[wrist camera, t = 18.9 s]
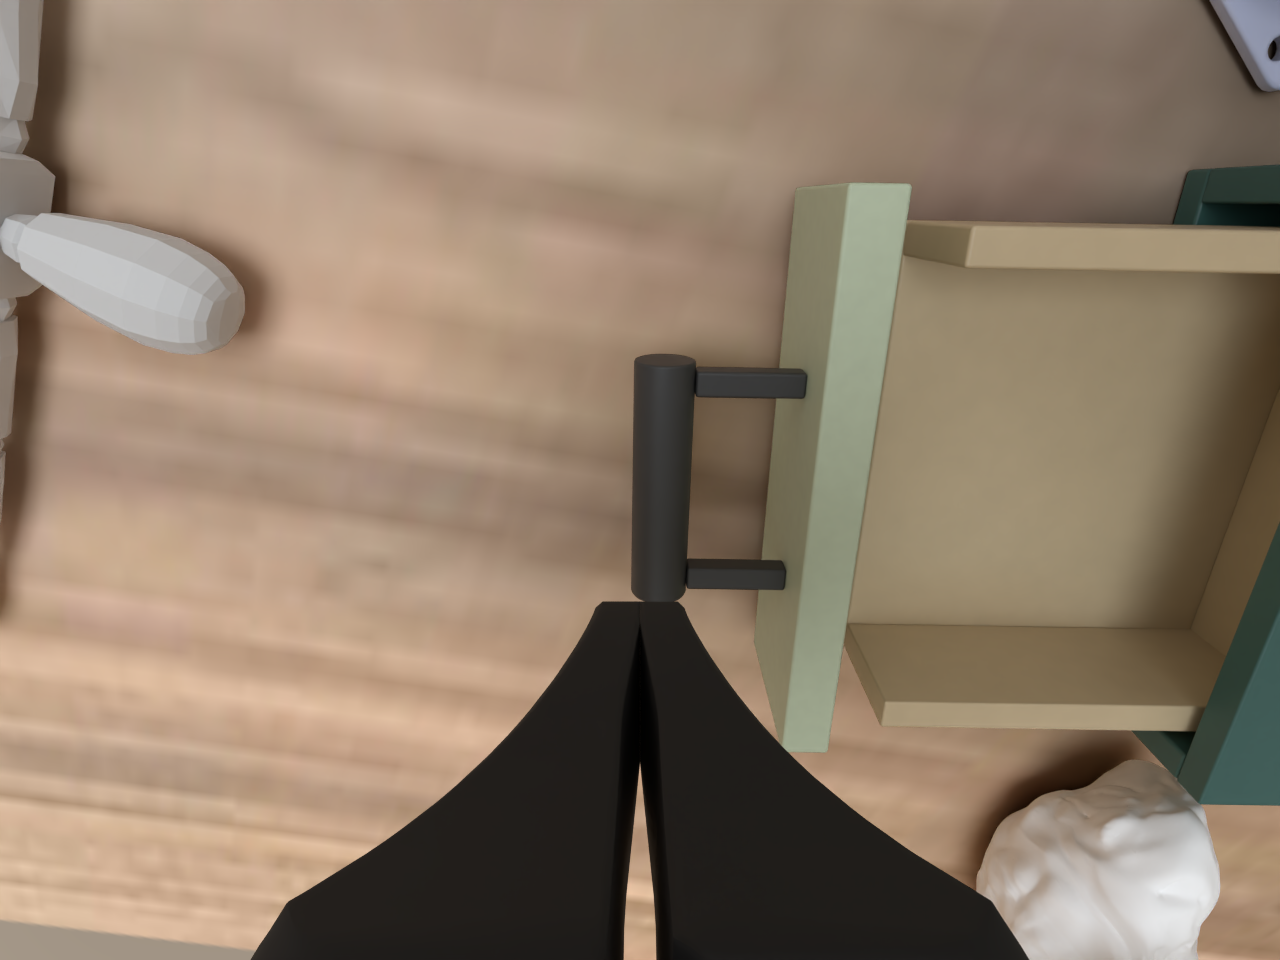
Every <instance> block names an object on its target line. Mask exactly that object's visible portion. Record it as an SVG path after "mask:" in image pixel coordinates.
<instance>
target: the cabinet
mask: <svg viewBox="0 0 1280 960" xmlns="http://www.w3.org/2000/svg"><path fill="white" fill-rule="evenodd" d="M1173 225H1224V226H1280V165H1263V166H1246V167H1229V168H1215V169H1197V170H1191V171H1189V172H1188V174H1187V178H1186V181H1185V185H1184V188H1183V192H1182V195H1181V199H1180V202H1179V206H1178V209H1177V213H1176V216H1175V220H1174V223H1173ZM1131 731H1132V732H1133V733H1134V734H1135V735H1136V736H1137V737H1138V738H1139V739H1140V740H1141V742H1142V743H1143V744H1144V745H1145V746H1146V747H1147V748H1148V749H1149V750H1150V751H1151V752H1152V753H1153V755H1154V756H1155V757H1156V758H1157V759H1158V760H1159V761H1160V762H1161V763H1162V764H1163V765H1164V766H1165V767H1166V769H1167V770H1168V771H1169V772H1170V773H1171V774H1172V775H1173V776H1174V777H1175V778H1177V781H1178V782H1179V783H1180V784H1181V786H1182V787H1183V788H1184V789H1185V790H1186V791H1187V792H1188V793H1189V794H1190V795H1191V796H1192V797H1193V799H1194V800H1195V801H1196V802H1197V803H1198V804H1210V805H1278V806H1280V522H1279V524H1278V527H1277V529H1276V532H1275V534H1274V537H1273V539H1272V542H1271V544H1270V547H1269V549H1268V552H1267V555H1266V557H1265V560H1264V562H1263V565H1262V567H1261V570H1260V572H1259V575H1258V577H1257V580H1256V582H1255V585H1254V587H1253V590H1252V592H1251V595H1250V597H1249V600H1248V602H1247V605H1246V607H1245V610H1244V612H1243V615H1242V617H1241V620H1240V622H1239V625H1238V627H1237V630H1236V632H1235V635H1234V638H1233V640H1232V643H1231V645H1230V648H1229V650H1228V653H1227V655H1226V658H1225V660H1224V663H1223V665H1222V668H1221V670H1220V673H1219V675H1218V678H1217V680H1216V683H1215V685H1214V688H1213V690H1212V693H1211V695H1210V698H1209V700H1208V703H1207V705H1206V708H1205V710H1204V713H1203V715H1202V718H1201V721H1200V723H1199V726H1198V728H1197V731H1139V730H1131Z"/></svg>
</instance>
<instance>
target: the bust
mask: <svg viewBox="0 0 1280 960" xmlns="http://www.w3.org/2000/svg"><path fill="white" fill-rule="evenodd" d="M976 892H978V893H980V894H981V895H983V896H984V897H986V898H988V899H989V900H991V901H992V902H993V904H994V905H995V907H996V909H997V910H998V912H999V913H1000V915H1001V916H1002V918H1003V919H1004V921H1005V922H1006V924H1007V925H1008V927H1009V929H1010V930H1011V932H1012V933H1013V935H1014V936H1015V938H1016V939H1017V941H1018V942H1019V944H1020V945H1021V947H1022V948H1023V950H1024V952H1025V953H1026V955H1027V957H1028V958H1029V960H1198V954H1197V951H1196V950H1197V938H1198V936H1199V931H1200V926H1201V924H1202V923H1203V921H1204V920H1205V919H1206V918H1207V917H1208V915H1209V914H1210V913H1211V911H1212V909H1213V908H1214V906H1215V904H1216V902H1217V900H1218V897H1219V893H1220V873H1219V865H1218V861H1217V858H1216V855H1215V852H1214V848H1213V844H1212V840H1211V836H1210V833H1209V829H1208V826H1207V820H1206V815H1205V811H1204V809H1203V807H1202V806H1201V805H1200V804H1198V803H1197V802H1196V801H1195V800H1194V799H1193V797H1192V796H1191V795H1190V794H1189V793H1188V792H1187V791H1186V790H1185V789H1184V788H1183V787H1182V786H1181V784H1180V783H1179V782H1178V781H1177V778H1175V777H1174V776H1173V775H1172V774H1171V773H1170V772H1169V771H1168V770H1166V769H1164V768H1162V767H1160V766H1158V765H1156V764H1154V763H1151V762H1148V761H1144V760H1127V761H1124V762H1123V763H1121V764H1119V765H1118V766H1116V767H1115V768H1113V769H1111V770H1109V771H1107V772H1106V773H1104V774H1103V775H1102V776H1100V777H1099V778H1098V779H1097V780H1096V781H1094V782H1093V783H1092V784H1090V785H1089V786H1087V787H1084V788H1080V789H1076V790H1059V791H1054V792H1051V793H1047V794H1044V795H1042V796H1040V797H1038V798H1037V799H1035V800H1034V801H1033V802H1032V803H1030V805H1029V806H1027V807H1026V808H1023V809H1021V810H1019V811H1016V812H1014V813H1012V814H1011V815H1009V816H1008V817H1006V818H1005V819H1004V820H1003V821H1002V822H1001V823H1000V825H999V826H998V827H997V829H996V831H995V833H994V835H993V837H992V839H991V842H990V844H989V846H988V848H987V850H986V853H985V856H984V859H983V862H982V865H981V868H980V870H979V871H978V874H977V879H976Z"/></svg>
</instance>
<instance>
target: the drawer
mask: <svg viewBox="0 0 1280 960" xmlns="http://www.w3.org/2000/svg"><path fill="white" fill-rule="evenodd" d="M911 190H912V187H911V185H910V184H908V183H854V182H852V183H841V184H830V185H820V186H809V187H799V188H797V189H796V191H795V201H794V212H793V223H792V234H791V245H790V256H789V266H788V277H787V288H786V299H785V310H784V321H783V331H782V342H781V353H780V364H779V368H739V367H697V368H696V361H695V360H694V359H692V358H690V357H687V356H682V355H675V354H650V355H644V356H640V357H638V358H636V359H635V361H634V418H633V493H632V568H631V590H632V592H633V594H634V595H635V596H636V597H637V598H639V599H640V600H642V601H645V602H674V601H676V600H678V599H680V598H681V597H682V596H683V595H684V593H685V588H686V586H687V588H688V589H739V590H759V592H758V603H757V613H756V624H755V635H754V644H755V648H756V652H757V656H758V660H759V664H760V668H761V672H762V676H763V680H764V684H765V688H766V691H767V695H768V699H769V703H770V707H771V711H772V715H773V719H774V723H775V727H776V731H777V735H778V739H779V743H780V745H781V746H782V747H783V748H784V749H785V750H786V751H787V752H819V753H825V752H827V751H828V745H829V738H830V731H831V725H832V718H833V711H834V704H835V698H836V691H837V684H838V678H839V671H840V664H841V658H842V651H843V644H844V646H845V648H846V651H847V653H848V655H849V657H850V659H851V662H852V664H853V666H854V668H855V670H856V673H857V675H858V677H859V679H860V681H861V684H862V686H863V688H864V690H865V692H866V695H867V697H868V699H869V701H870V703H871V706H872V708H873V710H874V712H875V714H876V717H877V719H878V721H879V723H880V725H881V726H882V727H940V728H1006V729H1073V730H1139V731H1197V728H1198V726H1199V723H1200V721H1201V718H1202V715H1203V713H1204V710H1205V708H1206V705H1207V703H1208V700H1209V698H1210V695H1211V693H1212V690H1213V688H1214V685H1215V683H1216V680H1217V678H1218V675H1219V673H1220V670H1221V668H1222V665H1223V663H1224V660H1225V658H1226V655H1227V653H1228V650H1229V648H1230V645H1231V643H1232V640H1233V638H1234V635H1235V632H1236V630H1237V627H1238V625H1239V622H1240V620H1241V617H1242V615H1243V612H1244V610H1245V607H1246V605H1247V602H1248V600H1249V597H1250V595H1251V592H1252V590H1253V587H1254V585H1255V582H1256V580H1257V577H1258V575H1259V572H1260V570H1261V567H1262V565H1263V562H1264V560H1265V557H1266V555H1267V552H1268V549H1269V547H1270V544H1271V542H1272V539H1273V537H1274V534H1275V532H1276V529H1277V527H1278V524H1279V522H1280V226H1224V225H1167V224H1110V223H1053V222H996V221H939V220H907V217H908V210H909V204H910V197H911ZM695 394H696V396H697V397H714V398H774V399H776V407H775V418H774V429H773V440H772V451H771V462H770V472H769V483H768V494H767V505H766V516H765V527H764V538H763V548H762V559H761V560H742V559H687V546H688V524H689V503H690V482H691V460H692V439H693V418H694V397H695Z"/></svg>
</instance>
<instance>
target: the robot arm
mask: <svg viewBox="0 0 1280 960" xmlns="http://www.w3.org/2000/svg"><path fill="white" fill-rule="evenodd" d="M1210 2H1211V4H1212V6H1213V8H1214V9H1215V11H1216V13H1217V15H1218V17H1219V18H1220V20H1221V22H1222V24H1223V25H1224V27H1225V29H1226V31H1227V33H1228V34H1229V36H1230V38H1231V40H1232V42H1233V43H1234V45H1235V47H1236V49H1237V50H1238V52H1239V54H1240V56H1241V58H1242V59H1243V61H1244V63H1245V65H1246V67H1247V68H1248V70H1249V72H1250V74H1251V75H1252V77H1253V79H1254V81H1255V83H1256V84H1257V86H1258V87H1259V88H1260V89H1261V90H1263V91H1267V92H1272V91H1278V90H1280V0H1210ZM1273 40H1274V41H1275V42H1276V45H1277V51H1276V54H1275V56H1274V57H1273V58H1272V60H1271V59H1270V58H1269V57H1268V52H1267V51H1268V48H1269V45H1270V43H1271V42H1272V41H1273ZM639 766H641V776H642V786H643V795H644V805H645V815H646V825H647V834H648V844H649V854H650V863H651V873H652V882H653V892H654V905H655V921H656V958H657V960H1029V958H1028V957H1027V955H1026V953H1025V952H1024V950H1023V948H1022V947H1021V945H1020V944H1019V942H1018V941H1017V939H1016V938H1015V936H1014V935H1013V933H1012V932H1011V930H1010V929H1009V927H1008V925H1007V924H1006V922H1005V921H1004V919H1003V918H1002V916H1001V915H1000V913H999V912H998V910H997V909H996V907H995V905H994V904H993V902H992V901H991V900H989V899H988V898H986V897H984V896H983V895H981V894H980V893H978V892H976V891H975V890H973V889H971V888H970V887H968V886H966V885H965V884H963V883H962V882H960V881H958V880H957V879H955V878H953V877H952V876H950V875H949V874H947V873H945V872H944V871H942V870H940V869H939V868H937V867H935V866H934V865H932V864H931V863H929V862H927V861H926V860H924V859H922V858H921V857H919V856H918V855H916V854H914V853H913V852H911V851H910V850H908V849H907V848H905V847H904V846H902V845H901V844H900V843H898V842H897V841H895V840H894V839H893V838H891V837H890V836H888V835H887V834H886V833H884V832H883V831H881V830H880V829H879V828H877V827H876V826H874V825H873V824H872V823H870V822H869V821H867V820H866V819H865V818H863V817H862V816H861V815H859V814H858V813H857V812H856V811H854V810H853V809H852V808H850V807H849V806H848V805H847V804H846V803H844V802H843V801H842V800H841V799H840V798H838V797H837V796H836V795H835V794H834V793H832V792H831V791H830V790H829V789H828V788H826V787H825V786H824V785H823V784H822V783H820V782H819V781H818V780H817V779H816V778H814V777H813V776H812V775H811V774H810V773H809V772H808V771H807V770H806V769H805V768H804V767H803V766H802V765H801V764H799V763H798V762H797V761H796V760H795V759H794V758H793V757H792V756H791V755H790V754H789V753H788V752H787V751H786V750H785V749H784V748H783V747H782V746H781V745H780V744H779V743H778V741H777V740H776V739H775V738H774V737H773V736H772V735H771V734H770V733H769V732H768V731H767V730H766V729H765V727H764V726H763V725H762V724H761V723H760V722H759V720H758V719H757V718H756V717H755V716H754V715H753V713H752V712H751V711H750V710H749V708H748V707H747V706H746V705H745V704H744V702H743V701H742V700H741V699H740V697H739V696H738V695H737V693H736V692H735V691H734V689H733V688H732V687H731V685H730V684H729V683H728V681H727V680H726V679H725V677H724V676H723V674H722V673H721V671H720V670H719V668H718V667H717V666H716V664H715V663H714V661H713V660H712V658H711V657H710V655H709V654H708V652H707V650H706V649H705V647H704V646H703V644H702V642H701V640H700V639H699V637H698V635H697V634H696V632H695V630H694V628H693V626H692V624H691V622H690V620H689V618H688V616H687V614H686V611H685V609H684V607H683V606H682V605H681V604H680V603H679V602H602V603H601V604H599V605H598V606H597V607H596V608H595V611H594V614H593V616H592V618H591V620H590V622H589V624H588V626H587V628H586V630H585V632H584V633H583V635H582V637H581V638H580V640H579V642H578V644H577V645H576V647H575V649H574V650H573V652H572V653H571V655H570V656H569V658H568V659H567V661H566V662H565V664H564V665H563V667H562V668H561V670H560V671H559V673H558V674H557V676H556V677H555V678H554V680H553V681H552V682H551V684H550V685H549V686H548V688H547V689H546V690H545V691H544V693H543V694H542V695H541V697H540V698H539V699H538V700H537V702H536V703H535V704H534V706H533V707H532V708H531V709H530V711H529V712H528V713H527V714H526V715H525V717H524V718H523V719H522V720H521V721H520V722H519V724H518V725H517V726H516V727H515V728H514V729H513V730H512V731H511V732H510V734H509V735H508V736H507V737H506V738H505V739H504V740H503V741H502V742H501V743H500V744H499V745H498V746H497V747H496V748H495V749H494V750H493V751H492V752H491V753H490V754H489V755H488V756H487V757H486V758H485V759H484V760H483V761H482V762H481V763H480V764H479V765H478V766H477V767H476V768H475V769H474V770H472V771H471V772H470V773H469V774H468V775H467V776H466V777H465V778H464V779H463V780H462V781H461V782H460V783H459V784H457V785H456V786H455V787H454V788H453V789H452V790H450V791H449V792H448V793H447V794H446V795H445V796H444V797H442V798H441V799H440V800H439V801H438V802H436V803H435V804H434V805H433V806H431V807H430V808H429V809H427V810H426V811H425V812H423V813H422V814H421V815H419V816H418V817H417V818H416V819H414V820H413V821H412V822H410V823H409V824H408V825H406V826H405V827H404V828H402V829H401V830H400V831H398V832H397V833H396V834H394V835H393V836H391V837H390V838H389V839H387V840H386V841H384V842H383V843H381V844H380V845H379V846H377V847H376V848H374V849H373V850H371V851H370V852H368V853H367V854H365V855H364V856H362V857H360V858H359V859H357V860H356V861H354V862H352V863H351V864H349V865H348V866H346V867H344V868H343V869H341V870H340V871H338V872H336V873H335V874H333V875H332V876H330V877H328V878H327V879H325V880H324V881H322V882H320V883H319V884H317V885H315V886H314V887H312V888H311V889H309V890H307V891H306V892H304V893H302V894H301V895H299V896H297V897H295V898H294V899H292V900H290V901H289V902H288V903H287V904H286V905H285V907H284V908H283V910H282V912H281V913H280V915H279V916H278V918H277V920H276V921H275V923H274V924H273V926H272V928H271V929H270V931H269V932H268V934H267V935H266V937H265V938H264V940H263V941H262V942H261V944H260V945H259V947H258V949H257V950H256V952H255V953H254V955H253V957H252V958H251V960H624V922H625V906H626V893H627V883H628V873H629V864H630V854H631V844H632V835H633V825H634V815H635V806H636V796H637V786H638V776H639Z"/></svg>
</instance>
